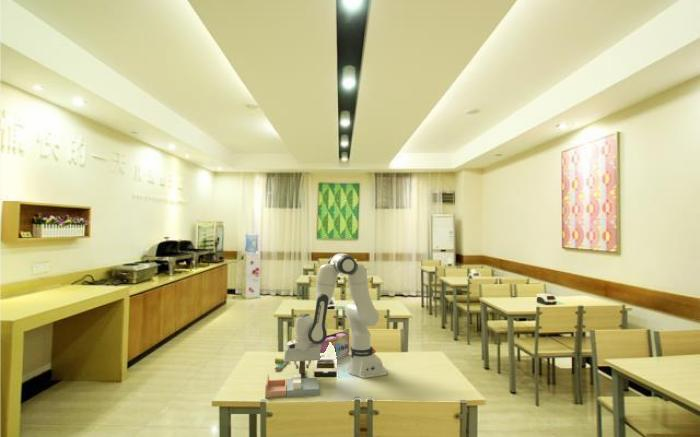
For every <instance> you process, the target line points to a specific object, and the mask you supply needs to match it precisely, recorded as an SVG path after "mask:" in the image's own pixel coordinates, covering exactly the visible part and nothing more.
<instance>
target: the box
mask: <svg viewBox="0 0 700 437" xmlns="http://www.w3.org/2000/svg"><path fill="white" fill-rule="evenodd" d="M265 381H266V382H265V388H264V389H265V393H264V395H265V396H264V397H265V399H271V398H286V397H287V378H285V379H270V374H267V376H266V380H265Z"/></svg>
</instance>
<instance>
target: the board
mask: <svg viewBox="0 0 700 437" xmlns="http://www.w3.org/2000/svg"><path fill="white" fill-rule="evenodd" d="M286 379H287V378H286ZM319 395H320V386H319V379H318V377H305V378H301V389H293V378H289V379H287V388H286V397H287V398H290V397H306V396H319Z"/></svg>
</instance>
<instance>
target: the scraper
mask: <svg viewBox="0 0 700 437" xmlns="http://www.w3.org/2000/svg"><path fill="white" fill-rule="evenodd" d="M298 374H301V378H306V361H299V365H298Z"/></svg>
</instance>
